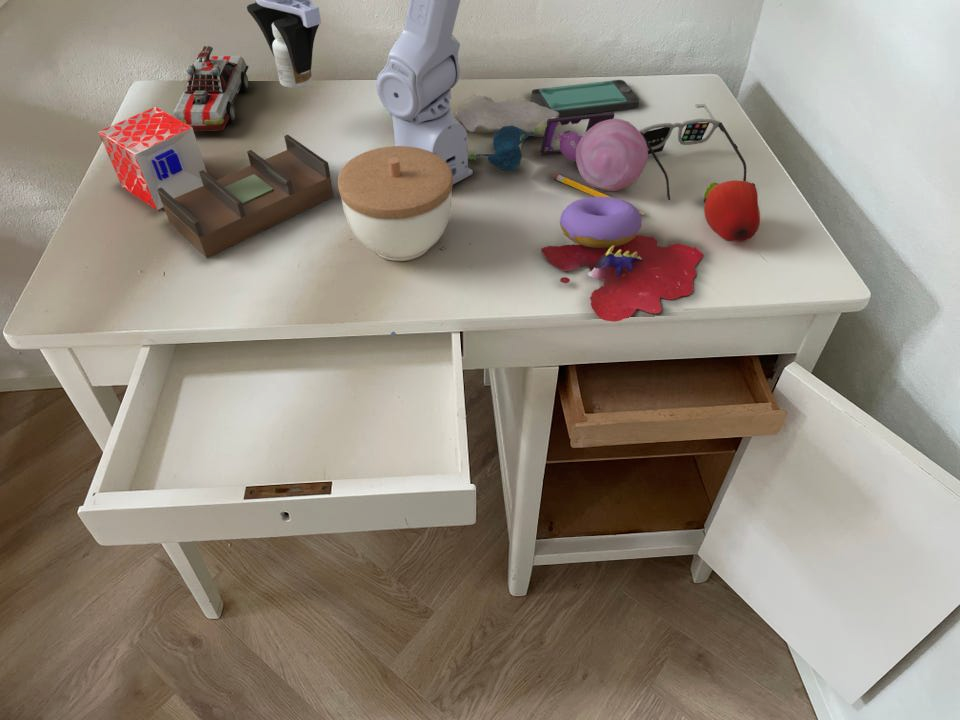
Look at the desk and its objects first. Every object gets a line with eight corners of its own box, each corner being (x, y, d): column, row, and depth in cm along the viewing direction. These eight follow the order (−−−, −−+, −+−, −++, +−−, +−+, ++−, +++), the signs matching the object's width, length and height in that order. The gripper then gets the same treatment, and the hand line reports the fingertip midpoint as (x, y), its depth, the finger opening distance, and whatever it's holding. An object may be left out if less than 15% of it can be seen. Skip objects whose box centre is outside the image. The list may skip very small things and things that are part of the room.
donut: (632, 255, 78) (627, 213, 76) (553, 259, 83) (546, 219, 80) (651, 223, 86) (647, 184, 84) (578, 228, 90) (572, 191, 88)
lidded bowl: (456, 274, 81) (454, 192, 73) (345, 279, 80) (330, 196, 72) (452, 208, 89) (449, 128, 81) (351, 212, 89) (338, 131, 81)
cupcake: (630, 94, 91) (616, 112, 83) (667, 151, 93) (656, 173, 85) (574, 135, 96) (556, 155, 88) (610, 188, 98) (596, 212, 90)
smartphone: (641, 100, 106) (545, 111, 103) (639, 107, 107) (544, 119, 104) (622, 77, 111) (530, 87, 108) (621, 85, 112) (529, 95, 109)
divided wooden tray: (334, 196, 91) (328, 162, 87) (206, 258, 83) (194, 223, 79) (295, 168, 95) (287, 134, 92) (170, 223, 87) (156, 189, 83)
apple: (786, 226, 81) (761, 164, 86) (747, 205, 78) (724, 142, 83) (732, 264, 87) (712, 203, 92) (694, 246, 83) (676, 184, 88)
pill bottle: (305, 91, 95) (294, 32, 90) (274, 87, 96) (262, 29, 90) (317, 75, 98) (307, 18, 93) (287, 72, 99) (275, 15, 93)
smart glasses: (696, 128, 101) (708, 99, 97) (741, 201, 94) (756, 173, 90) (618, 138, 99) (627, 108, 95) (659, 214, 92) (671, 185, 88)
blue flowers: (477, 161, 101) (472, 193, 96) (463, 137, 98) (458, 168, 93) (555, 129, 96) (555, 161, 91) (543, 104, 94) (542, 135, 89)
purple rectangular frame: (612, 107, 93) (546, 114, 92) (623, 139, 91) (555, 146, 90) (601, 142, 99) (538, 148, 98) (610, 172, 98) (547, 179, 96)
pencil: (557, 175, 94) (556, 172, 93) (646, 213, 88) (646, 210, 88) (554, 180, 94) (553, 177, 93) (643, 218, 88) (643, 215, 88)
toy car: (172, 139, 100) (154, 87, 94) (204, 78, 112) (190, 29, 107) (227, 139, 100) (212, 87, 95) (253, 78, 112) (242, 29, 107)
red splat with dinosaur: (655, 236, 91) (665, 203, 88) (729, 302, 81) (744, 268, 78) (532, 255, 84) (539, 220, 81) (598, 329, 74) (609, 293, 71)
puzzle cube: (174, 161, 96) (155, 106, 91) (210, 182, 93) (192, 127, 87) (121, 187, 92) (97, 131, 86) (156, 210, 89) (134, 154, 83)
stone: (472, 90, 107) (569, 100, 102) (472, 113, 109) (567, 123, 104) (443, 109, 99) (547, 120, 94) (444, 133, 101) (546, 145, 96)
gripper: (334, -39, 84) (349, 73, 94) (268, -69, 91) (289, 38, 101) (282, -24, 80) (304, 91, 90) (218, -57, 88) (245, 53, 98)
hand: (293, 64), depth 95 cm, fingers closed on pill bottle, 4 cm apart
